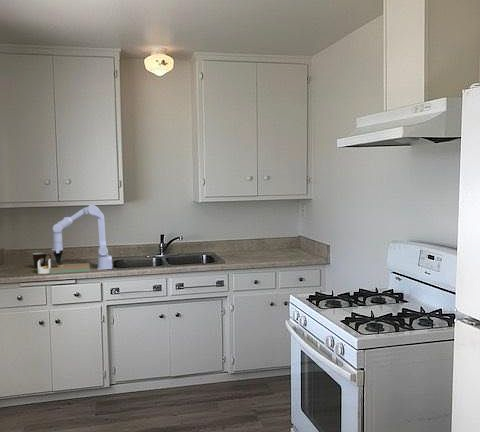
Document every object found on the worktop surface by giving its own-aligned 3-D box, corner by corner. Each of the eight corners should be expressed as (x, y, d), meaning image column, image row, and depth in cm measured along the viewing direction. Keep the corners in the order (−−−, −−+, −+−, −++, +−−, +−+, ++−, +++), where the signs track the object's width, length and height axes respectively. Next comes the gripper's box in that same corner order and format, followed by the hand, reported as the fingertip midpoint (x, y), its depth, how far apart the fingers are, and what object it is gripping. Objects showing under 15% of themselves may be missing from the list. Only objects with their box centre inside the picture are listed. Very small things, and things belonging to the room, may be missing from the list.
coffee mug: (32, 269, 343) (31, 254, 343) (33, 267, 351) (33, 252, 351) (50, 268, 346) (50, 253, 346) (51, 266, 355) (51, 252, 354)
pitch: (89, 268, 345) (89, 256, 345) (89, 271, 334) (89, 258, 333) (39, 271, 335) (38, 259, 335) (37, 274, 324) (37, 261, 323)
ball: (47, 272, 333) (51, 267, 334) (47, 273, 330) (50, 268, 330) (42, 269, 332) (45, 264, 333) (41, 270, 328) (45, 265, 329)
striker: (63, 268, 337) (62, 256, 337) (62, 269, 331) (62, 257, 331) (58, 268, 336) (57, 256, 336) (58, 269, 330) (57, 257, 330)
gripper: (51, 241, 338) (52, 261, 339) (50, 243, 324) (51, 264, 325) (63, 240, 340) (63, 260, 341) (62, 243, 326) (63, 264, 327)
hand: (58, 262), depth 333 cm, fingers open, 4 cm apart
